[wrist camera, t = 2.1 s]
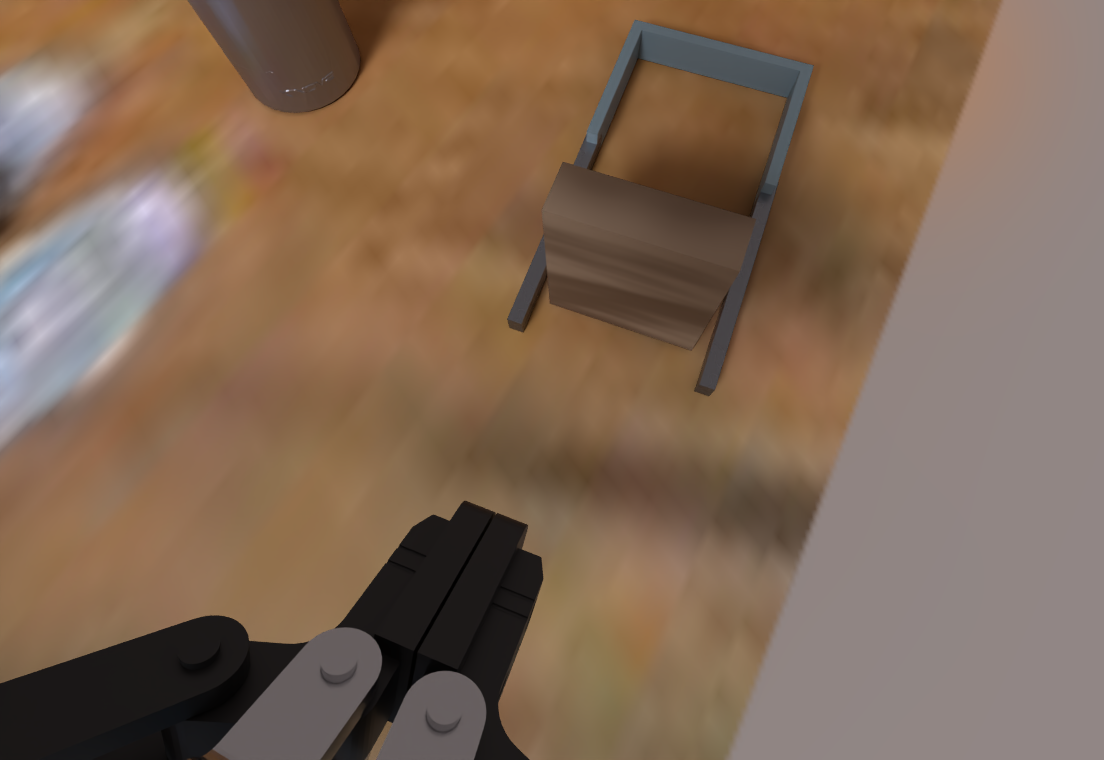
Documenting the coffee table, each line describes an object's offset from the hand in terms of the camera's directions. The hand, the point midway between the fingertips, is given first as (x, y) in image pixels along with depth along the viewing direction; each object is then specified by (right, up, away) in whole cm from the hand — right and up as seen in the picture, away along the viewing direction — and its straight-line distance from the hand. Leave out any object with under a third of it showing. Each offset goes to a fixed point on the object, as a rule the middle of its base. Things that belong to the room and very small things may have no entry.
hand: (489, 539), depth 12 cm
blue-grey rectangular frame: (+12, +23, +30) cm, 40 cm away
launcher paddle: (+6, +8, +26) cm, 28 cm away
